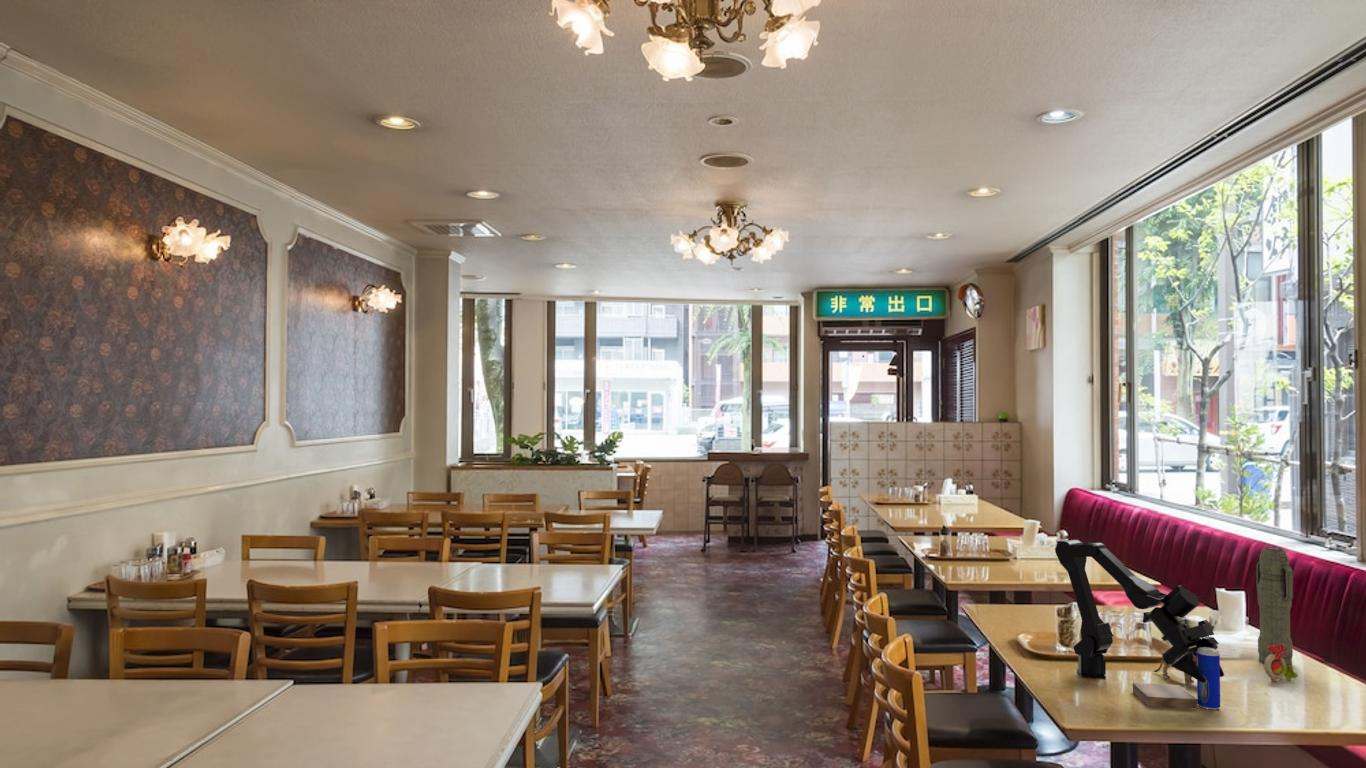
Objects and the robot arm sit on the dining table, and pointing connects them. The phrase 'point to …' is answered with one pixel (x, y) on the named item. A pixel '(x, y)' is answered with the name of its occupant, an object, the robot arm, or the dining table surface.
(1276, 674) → the bird rattle
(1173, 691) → the walnut base board
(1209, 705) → the beverage can
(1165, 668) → the lion figurine
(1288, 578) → the grey-green panelled tower
